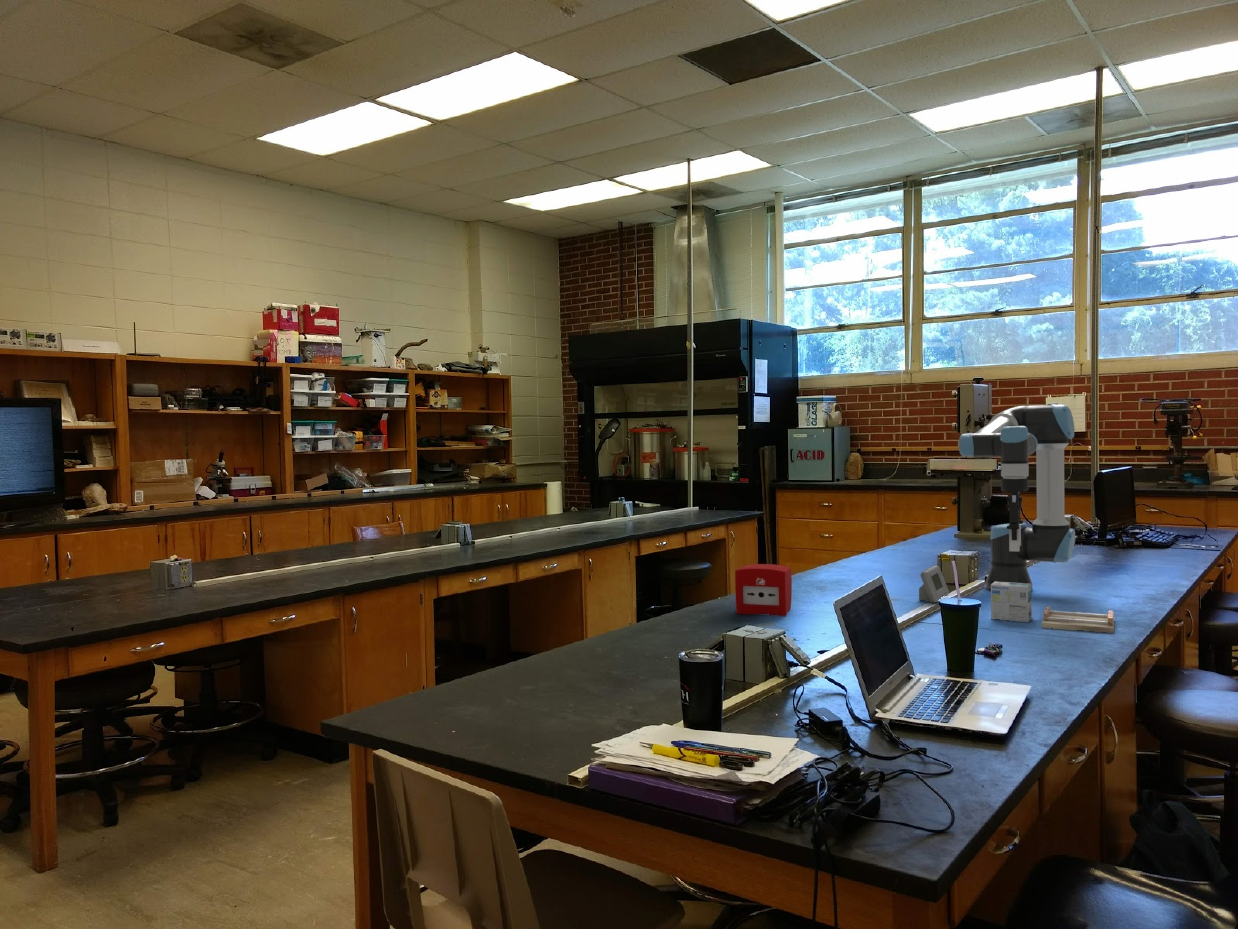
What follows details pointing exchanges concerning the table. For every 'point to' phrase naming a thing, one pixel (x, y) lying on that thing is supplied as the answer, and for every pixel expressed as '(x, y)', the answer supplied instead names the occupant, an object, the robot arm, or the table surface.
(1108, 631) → the mounting board
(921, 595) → the digital clock
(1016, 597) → the light bulb box
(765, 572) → the fire alarm
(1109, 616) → the rectangular frame
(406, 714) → the table surface
